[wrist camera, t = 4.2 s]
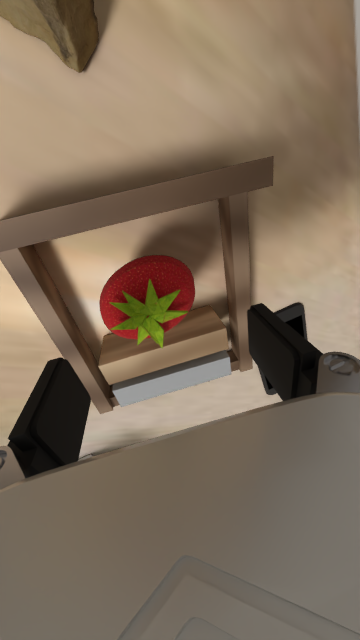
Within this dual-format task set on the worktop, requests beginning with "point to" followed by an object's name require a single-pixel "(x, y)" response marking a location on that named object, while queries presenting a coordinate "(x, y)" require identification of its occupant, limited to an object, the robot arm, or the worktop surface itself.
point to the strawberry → (147, 298)
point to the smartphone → (297, 321)
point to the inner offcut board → (178, 346)
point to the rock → (57, 26)
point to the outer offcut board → (172, 378)
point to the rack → (23, 231)
